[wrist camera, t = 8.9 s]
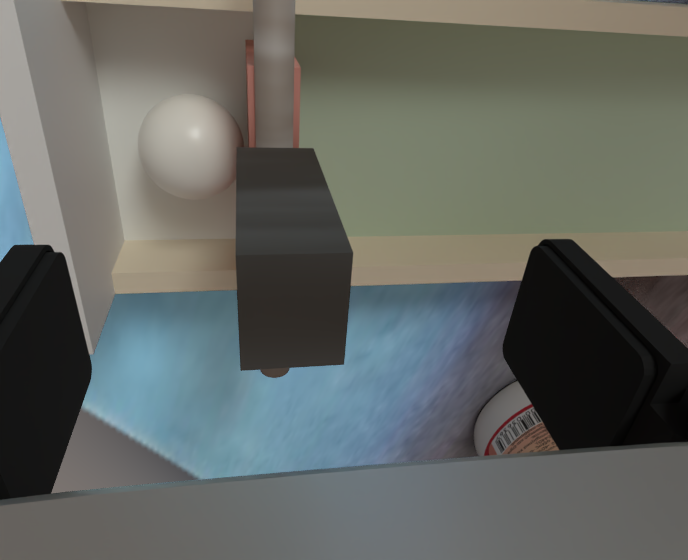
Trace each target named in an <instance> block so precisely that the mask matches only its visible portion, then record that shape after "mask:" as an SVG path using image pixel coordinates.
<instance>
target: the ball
mask: <svg viewBox="0 0 688 560" xmlns="http://www.w3.org/2000/svg"><path fill="white" fill-rule="evenodd" d="M237 147H244V140H243V136H242V132H241V130H240V128H239V126H238V124H237V122H236V120H235V119H234V117H233V116H232V115H231V114H230V113H229V112H228V111H227V110H226V109H225V108H224V107H223V106H222V105H220V104H219V103H217V102H216V101H214V100H212V99H210V98H207V97H204V96H201V95H195V94H181V95H175V96H172V97H169V98H167V99H164V100H163V101H161V102H159V103H158V104H156V105H155V106H154V107H153V108H152V109H151V110H150V111H149V112H148V114H147V115H146V117H145V118H144V120H143V122H142V125H141V127H140V130H139V135H138V151H139V156H140V160H141V163H142V165H143V167H144V169H145V171H146V173H147V174H148V175H149V177H150V178H151V179H152V180H153V182H154V183H156V184H157V185H158V186H159V187H160V188H161V189H163V190H164V191H166V192H168V193H170V194H172V195H174V196H177V197H180V198H184V199H192V200H197V199H205V198H210V197H212V196H215V195H217V194H219V193H221V192H223V191H224V190H225V189H227V188H228V187H229V186H230V185H231V184H232V183H233V182H234V180H235V179H236V154H237Z"/></svg>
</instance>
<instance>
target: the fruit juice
mask: <svg viewBox="0 0 688 560" xmlns="http://www.w3.org/2000/svg"><path fill="white" fill-rule="evenodd" d="M474 444H475V448H476V451H477V455H478V456H490V455H503V454H516V453H529V452H542V451H555V450H559V449H558V447H557V445H556V444H555V442H554V440H553V439H552V437H551V435H550V434H549V432H548V430H547V429H546V427H545V425H544V424H543V422H542V420H541V419H540V417H539V415H538V414H537V412H536V410H535V409H534V407H533V405H532V404H531V402H530V400H529V399H528V397H527V395H526V394H525V392H524V390H523V389H522V387H521V385H520V384H519V382H518V381H516V382H514V383H512V384H510V385H509V386H507V387H505V388H504V389H503V390H501V391H500V392H499V393H497V394H496V395H495V396H494V397H493V398H492V399H491V400H490V401H489V402H488V403H487V404H486V405H485V407H484V408H483V409H482V411H481V413H480V414H479V416H478V418H477V421H476V424H475V427H474Z"/></svg>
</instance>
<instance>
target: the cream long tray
mask: <svg viewBox="0 0 688 560" xmlns="http://www.w3.org/2000/svg"><path fill="white" fill-rule="evenodd" d="M245 40H254V35H253V0H0V117H1V121H2V124H3V128H4V132H5V136H6V140H7V143H8V147H9V151H10V155H11V159H12V162H13V166H14V170H15V174H16V177H17V181H18V185H19V189H20V193H21V196H22V200H23V204H24V208H25V212H26V215H27V219H28V223H29V227H30V231H31V234H32V238H33V242H34V245H50V246H51V247H52V248H53V250H54V252H62V253H63V254H64V256H65V259H66V262H67V266H68V270H69V274H70V278H71V282H72V286H73V291H74V295H75V299H76V303H77V307H78V311H79V315H80V319H81V323H82V327H83V331H84V335H85V339H86V343H87V347H88V352H89V354H94V351H95V349H96V346H97V343H98V340H99V338H100V335H101V332H102V329H103V326H104V324H105V321H106V318H107V315H108V313H109V310H110V307H111V304H112V301H113V299H114V296H115V294H129V293H159V292H189V291H219V290H237V277H236V179H235V180H234V182H233V183H232V184H231V185H230V186H229V187H228V188H227V189H225V190H224V191H223V192H221V193H219V194H217V195H215V196H212V197H210V198H205V199H197V200H192V199H184V198H180V197H177V196H174V195H172V194H170V193H168V192H166V191H164V190H163V189H161V188H160V187H159V186H158V185H157V184H156V183H154V182H153V180H152V179H151V178H150V177H149V175H148V174H147V173H146V171H145V169H144V167H143V165H142V163H141V160H140V156H139V151H138V135H139V130H140V127H141V125H142V122H143V120H144V118H145V117H146V115H147V114H148V112H149V111H150V110H151V109H152V108H153V107H154V106H155V105H156V104H158V103H159V102H161V101H163V100H164V99H167V98H169V97H172V96H175V95H181V94H195V95H201V96H204V97H207V98H210V99H212V100H214V101H216V102H217V103H219V104H220V105H222V106H223V107H224V108H225V109H226V110H227V111H228V112H229V113H230V114H231V115H232V116H233V117H234V119H235V120H236V122H237V124H238V126H239V128H240V130H241V132H242V136H243V140H244V147H248V120H247V83H246V47H245ZM294 56H295V58H296V60H297V61H298V63H299V65H300V67H301V81H300V125H299V148H314V151H315V154H316V156H317V159H318V161H319V164H320V167H321V169H322V172H323V174H324V177H325V180H326V182H327V185H328V188H329V190H330V193H331V195H332V198H333V201H334V203H335V206H336V208H337V211H338V214H339V216H340V219H341V222H342V224H343V227H344V229H345V232H346V235H347V237H348V240H349V243H350V245H351V248H352V250H353V263H352V275H351V286H370V285H400V284H430V283H460V282H490V281H520V280H522V278H523V275H524V272H525V268H526V265H527V262H528V258H529V255H530V252H531V250H532V248H533V247H535V246H538V245H539V243H540V242H541V241H542V240H544V239H572V240H573V241H575V242H576V243H577V244H578V245H579V246H580V247H581V248H582V249H583V250H584V251H585V252H586V253H587V254H588V255H589V256H590V257H591V258H593V259H594V260H595V261H596V262H597V263H598V264H599V265H600V266H601V267H602V268H603V269H604V270H605V271H606V272H607V273H608V274H609V275H610V276H612V277H640V276H670V275H688V4H680V3H665V2H651V1H637V0H295V54H294Z"/></svg>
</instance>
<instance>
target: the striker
mask: <svg viewBox="0 0 688 560" xmlns="http://www.w3.org/2000/svg"><path fill="white" fill-rule="evenodd" d="M253 35H254V40H245V47H246V83H247V120H248V147H237V154H236V277H237V300H238V322H239V344H240V367H241V371H242V370H259V369H260V370H261V372H262V374H264V375H265V376H267V377H272V378H277V377H281V376H283V375H285V374H286V373H287V372H288V371H289V368H292V367H309V366H326V365H343V364H344V358H345V346H346V334H347V322H348V310H349V299H350V287H351V275H352V263H353V250H352V248H351V245H350V243H349V240H348V237H347V235H346V232H345V229H344V227H343V224H342V222H341V219H340V216H339V214H338V211H337V208H336V206H335V203H334V201H333V198H332V195H331V193H330V190H329V188H328V185H327V182H326V180H325V177H324V174H323V172H322V169H321V167H320V164H319V161H318V159H317V156H316V154H315V151H314V148H299V125H300V81H301V67H300V65H299V63H298V61H297V60H296V58H295V56H294V54H295V0H253Z"/></svg>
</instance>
